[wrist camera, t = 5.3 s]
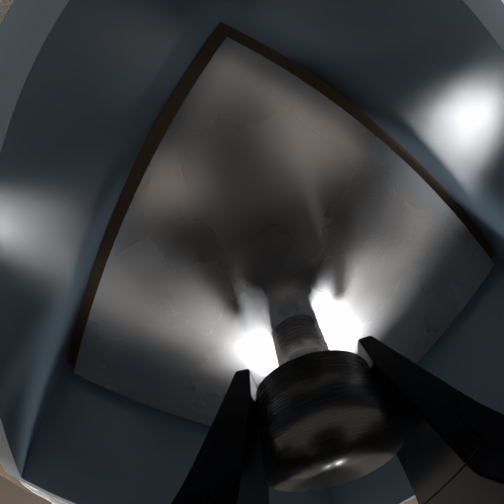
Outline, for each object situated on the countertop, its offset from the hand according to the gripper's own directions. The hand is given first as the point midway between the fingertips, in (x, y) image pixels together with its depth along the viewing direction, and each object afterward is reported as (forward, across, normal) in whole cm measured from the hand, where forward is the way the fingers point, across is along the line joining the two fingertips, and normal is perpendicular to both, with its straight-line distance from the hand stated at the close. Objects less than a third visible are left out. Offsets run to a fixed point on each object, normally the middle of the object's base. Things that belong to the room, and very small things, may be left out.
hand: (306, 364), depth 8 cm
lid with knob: (+2, 0, 0) cm, 2 cm away
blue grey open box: (+2, -1, +1) cm, 2 cm away
